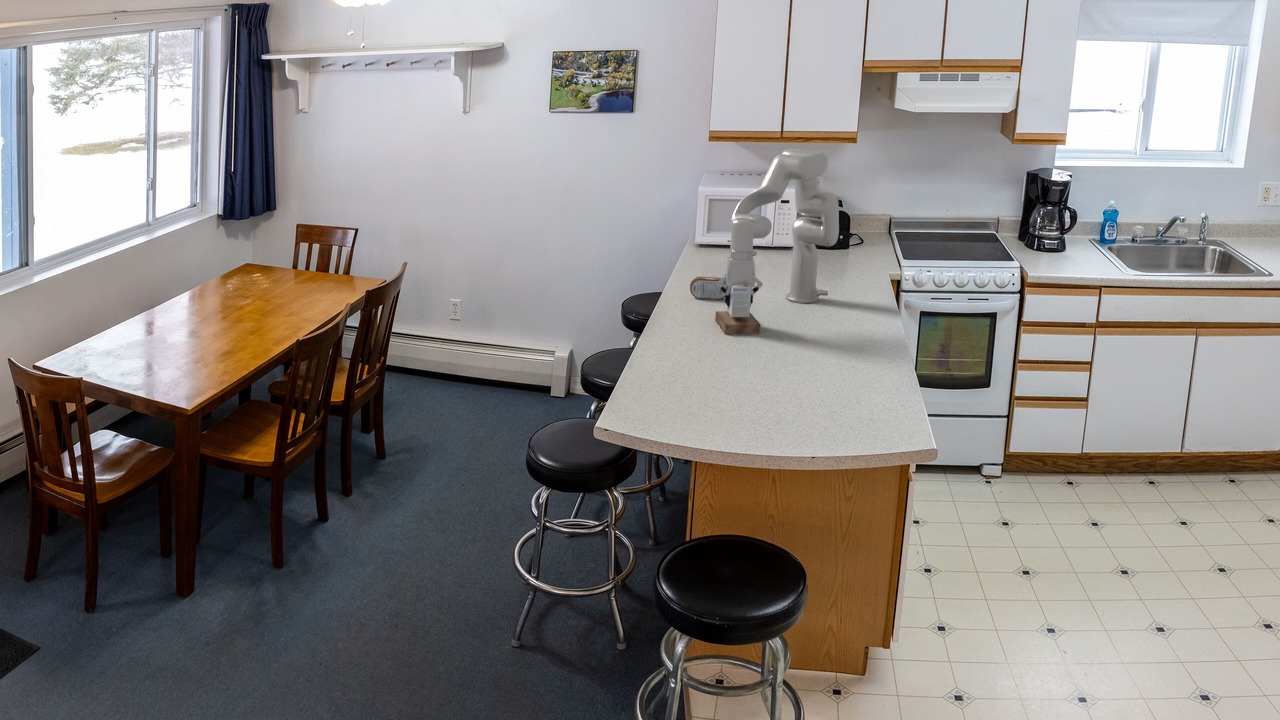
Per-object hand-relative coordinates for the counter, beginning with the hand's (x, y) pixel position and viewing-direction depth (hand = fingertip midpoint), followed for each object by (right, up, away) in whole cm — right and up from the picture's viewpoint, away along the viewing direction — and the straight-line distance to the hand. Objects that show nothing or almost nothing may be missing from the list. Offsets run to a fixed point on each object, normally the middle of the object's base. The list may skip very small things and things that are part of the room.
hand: (738, 305), depth 357 cm
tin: (-8, +4, +37) cm, 38 cm away
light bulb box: (0, -3, +1) cm, 3 cm away
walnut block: (0, -8, +3) cm, 8 cm away
